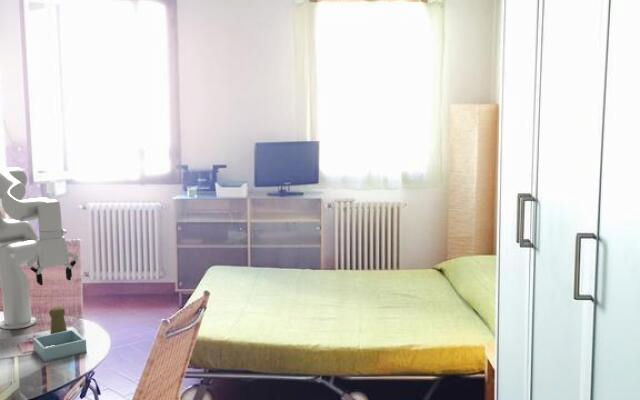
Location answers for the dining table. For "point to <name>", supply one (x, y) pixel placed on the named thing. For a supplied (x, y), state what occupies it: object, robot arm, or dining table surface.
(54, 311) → the cork
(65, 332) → the bin
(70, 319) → the dining table surface
